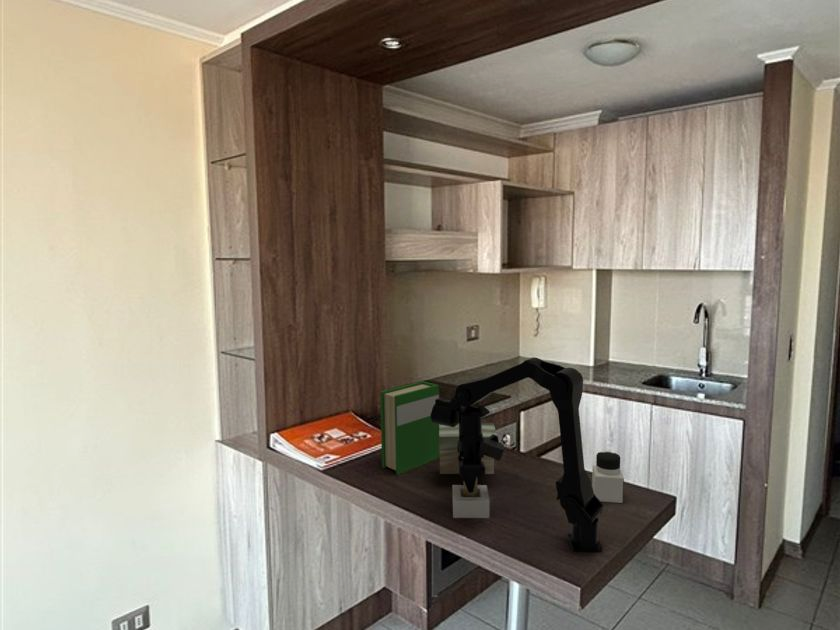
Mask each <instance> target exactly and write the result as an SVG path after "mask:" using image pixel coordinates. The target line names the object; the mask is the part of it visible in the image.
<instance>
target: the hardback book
mask: <svg viewBox="0 0 840 630" xmlns="http://www.w3.org/2000/svg"><path fill="white" fill-rule="evenodd" d="M379 392H380V394H379V395H380V399H379V400H380V433H381V434H380V436H381V437H380V438H381V439H380V440H381V468H382V467H388V468H389V469H392V470H394V471H395V474H396V475H397V474H399V475H401V474H400V473H402V474H404V473H407V472H408V470H409V471H412V470H414V469H413V468H415V469H416V467H417V468H419V466H420V467H422V466H424V465H423V464H425V465H426V463H427V464H429V463H428V462H430V461H432V460H435V459H437V458H439V459H440V451H439V426H440V424H435V423H433V422H432V420H431V412H432V408H433V406H434V405H435V400H436V399H438V398H440V385H439V384H435V383H433V382H432V383H431V382H428V381H427V382H426V381H424V380H422V381H417V382H415V383H410V384H406V385H403V386H398V387H393V388H389V389H386V390H382V391H379ZM437 460H438V459H437ZM435 461H436V460H435ZM432 462H433V461H432ZM430 463H431V462H430ZM411 469H412V470H411ZM406 471H407V472H406ZM403 472H404V473H403Z"/></svg>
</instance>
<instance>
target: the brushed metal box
mask: <svg viewBox="0 0 840 630" xmlns="http://www.w3.org/2000/svg"><path fill="white" fill-rule="evenodd" d="M482 433H483V437H484V438H487V437H488V438H489V437H490V436H491V435H492V434H494V435H497V436H498V434H497V430H496V426H495V423H494V422H482ZM458 441H459V424H457V425H456V426H455V427H449V426H445V425H440V424H439V475H459V460H458V456H459V452H458V450H457V442H458ZM481 459H482V460H481V461H482V462H483V463H484V465H485V475H494V474H495V459H494V458H491V457H488V456H486V455H484V458H481Z"/></svg>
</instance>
